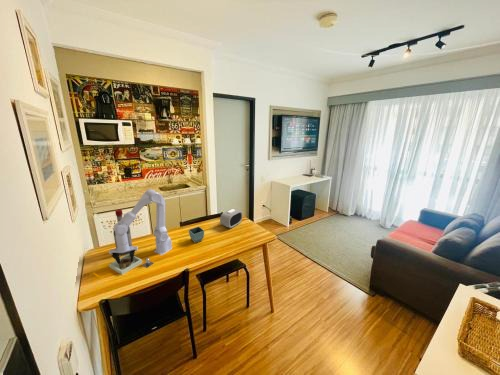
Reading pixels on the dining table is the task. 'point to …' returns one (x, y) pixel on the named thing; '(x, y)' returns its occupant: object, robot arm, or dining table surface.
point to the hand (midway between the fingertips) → (125, 262)
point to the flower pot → (196, 234)
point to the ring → (125, 263)
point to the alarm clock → (231, 218)
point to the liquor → (119, 217)
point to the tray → (135, 263)
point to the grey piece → (147, 263)
